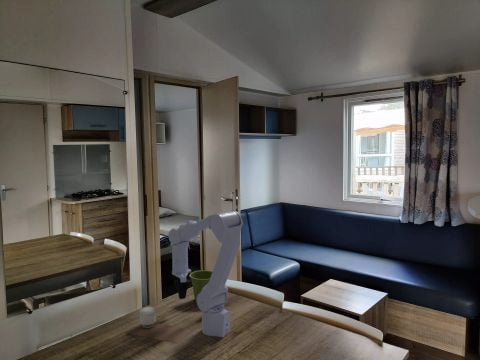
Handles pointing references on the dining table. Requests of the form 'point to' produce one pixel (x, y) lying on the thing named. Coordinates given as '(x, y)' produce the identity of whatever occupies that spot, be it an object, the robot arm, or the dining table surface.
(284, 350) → the dining table surface
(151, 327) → the post board
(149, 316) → the cap
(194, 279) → the plant pot
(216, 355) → the dining table surface
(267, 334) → the dining table surface
